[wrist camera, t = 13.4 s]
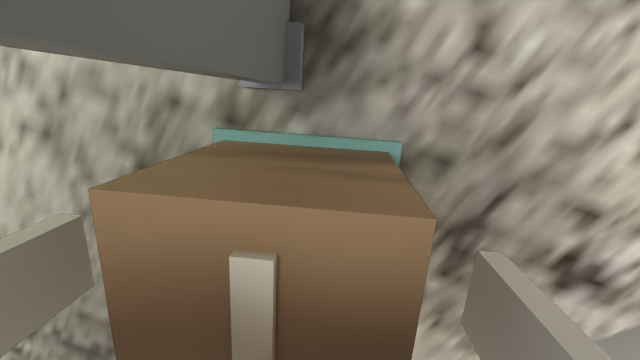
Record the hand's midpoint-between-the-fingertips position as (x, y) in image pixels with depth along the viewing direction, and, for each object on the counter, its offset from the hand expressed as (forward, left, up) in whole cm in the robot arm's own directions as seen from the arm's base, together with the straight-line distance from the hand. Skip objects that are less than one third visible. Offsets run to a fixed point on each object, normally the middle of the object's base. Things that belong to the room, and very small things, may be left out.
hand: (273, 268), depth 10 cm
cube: (0, 0, -4) cm, 4 cm away
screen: (-1, +11, -4) cm, 12 cm away
